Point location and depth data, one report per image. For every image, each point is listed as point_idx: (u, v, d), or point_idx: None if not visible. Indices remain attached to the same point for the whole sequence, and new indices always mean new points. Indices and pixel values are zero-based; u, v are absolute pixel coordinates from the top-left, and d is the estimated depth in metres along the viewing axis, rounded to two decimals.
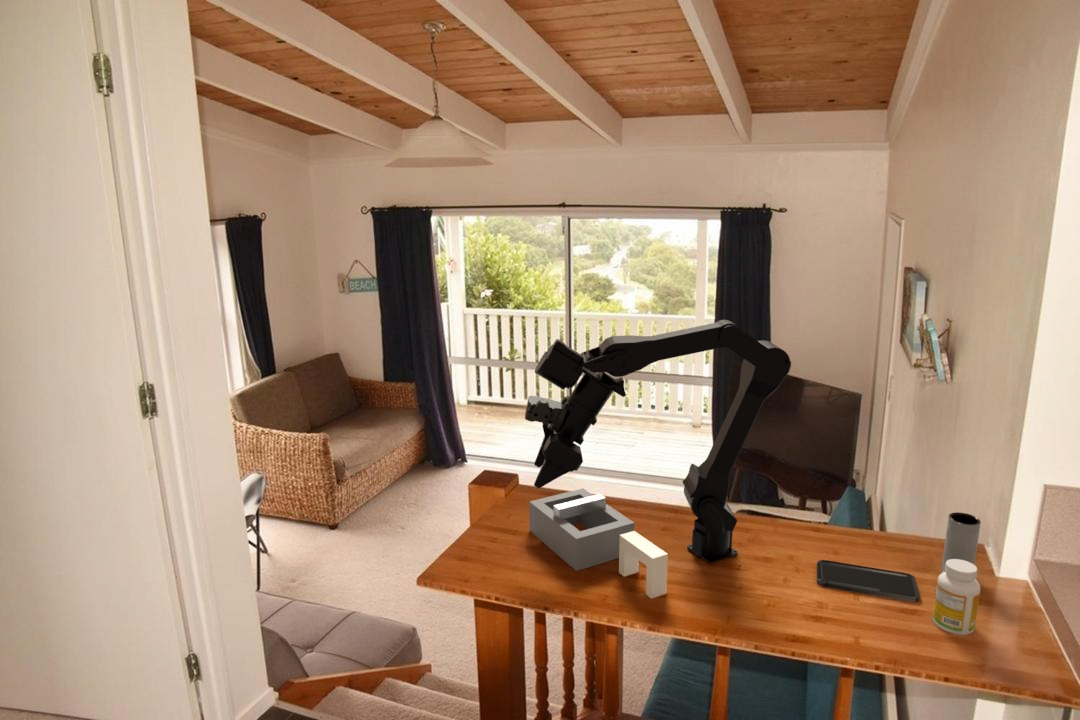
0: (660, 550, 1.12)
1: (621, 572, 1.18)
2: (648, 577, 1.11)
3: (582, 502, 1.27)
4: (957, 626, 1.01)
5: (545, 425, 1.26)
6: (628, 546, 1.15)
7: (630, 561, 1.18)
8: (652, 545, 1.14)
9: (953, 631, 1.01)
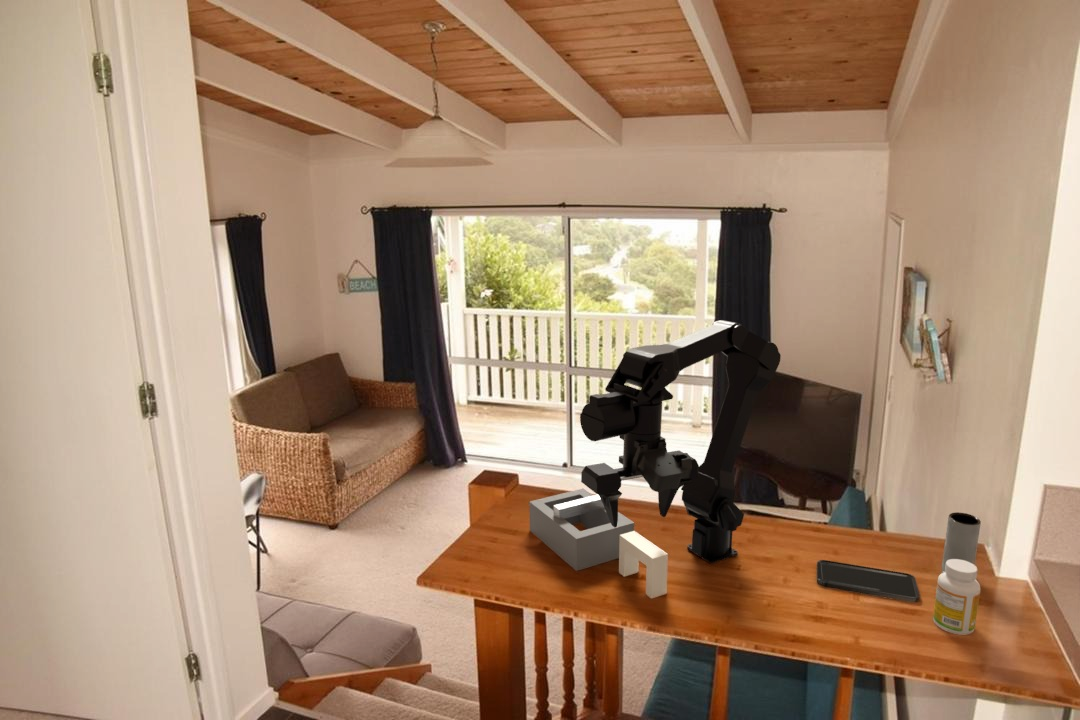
0: (660, 550, 1.12)
1: (621, 572, 1.18)
2: (648, 577, 1.11)
3: (582, 502, 1.27)
4: (957, 626, 1.01)
5: (615, 492, 1.07)
6: (628, 546, 1.15)
7: (630, 561, 1.18)
8: (652, 545, 1.14)
9: (953, 631, 1.01)
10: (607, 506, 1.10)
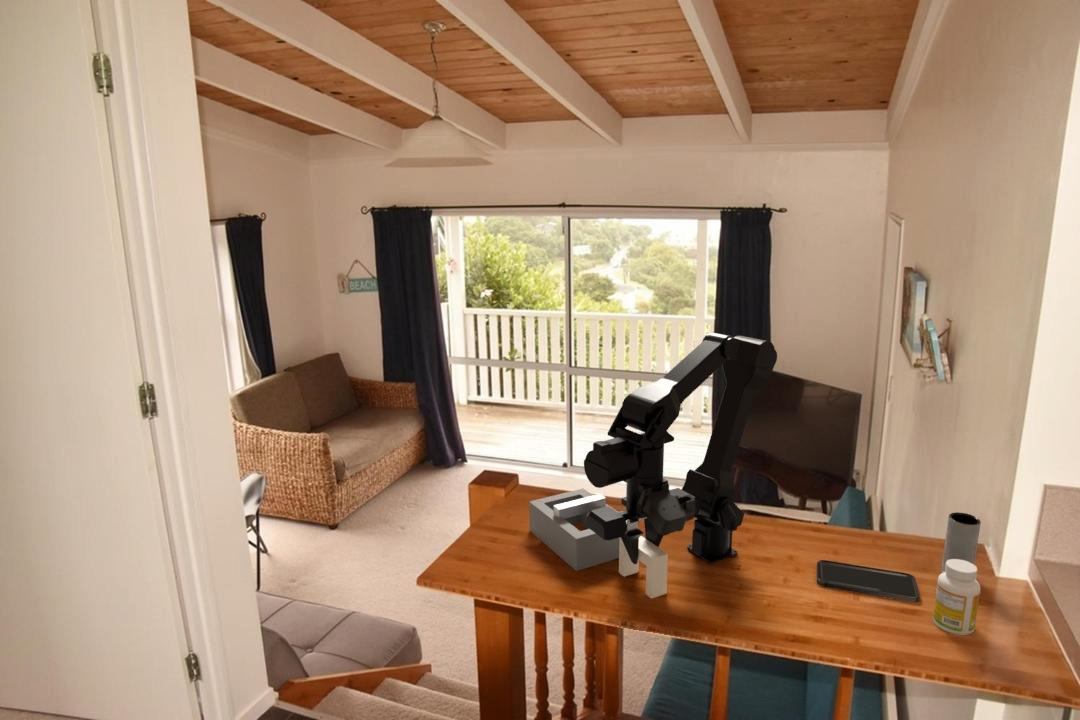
0: (660, 550, 1.12)
1: (621, 572, 1.18)
2: (648, 577, 1.11)
3: (582, 502, 1.27)
4: (957, 626, 1.01)
5: (637, 532, 1.10)
6: None
7: (629, 561, 1.18)
8: (652, 545, 1.14)
9: (953, 631, 1.01)
10: (627, 544, 1.13)
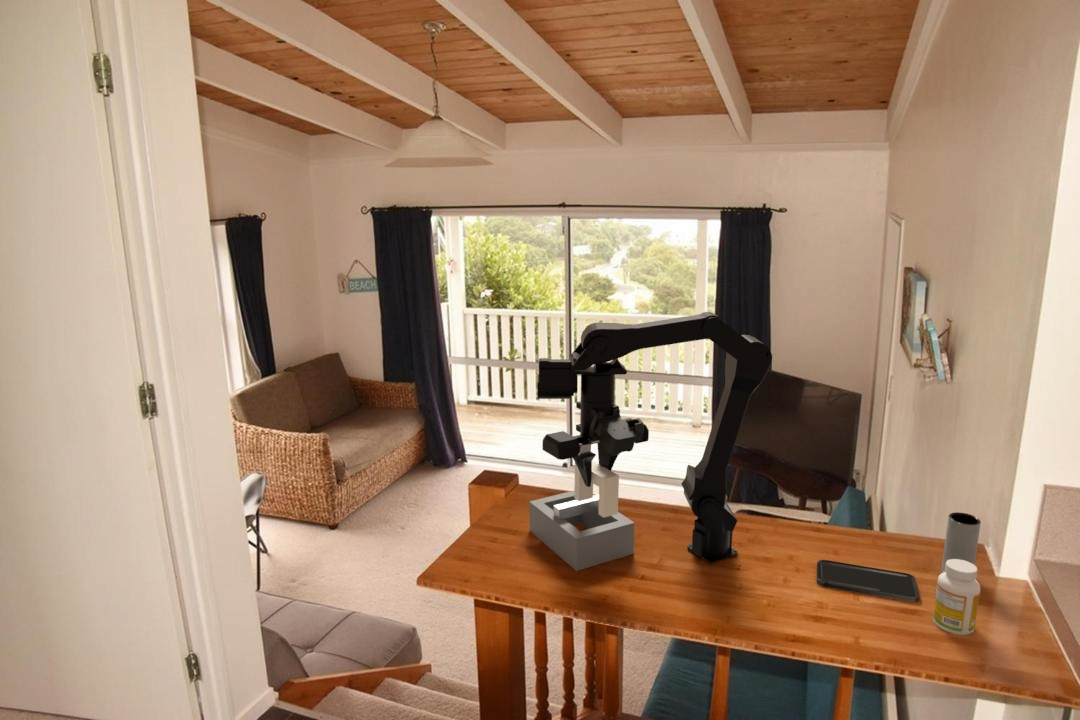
0: (612, 473, 1.20)
1: (576, 497, 1.25)
2: (601, 497, 1.19)
3: (582, 502, 1.27)
4: (957, 626, 1.01)
5: (589, 454, 1.17)
6: None
7: (584, 486, 1.25)
8: (605, 469, 1.21)
9: (953, 631, 1.01)
10: (581, 468, 1.20)
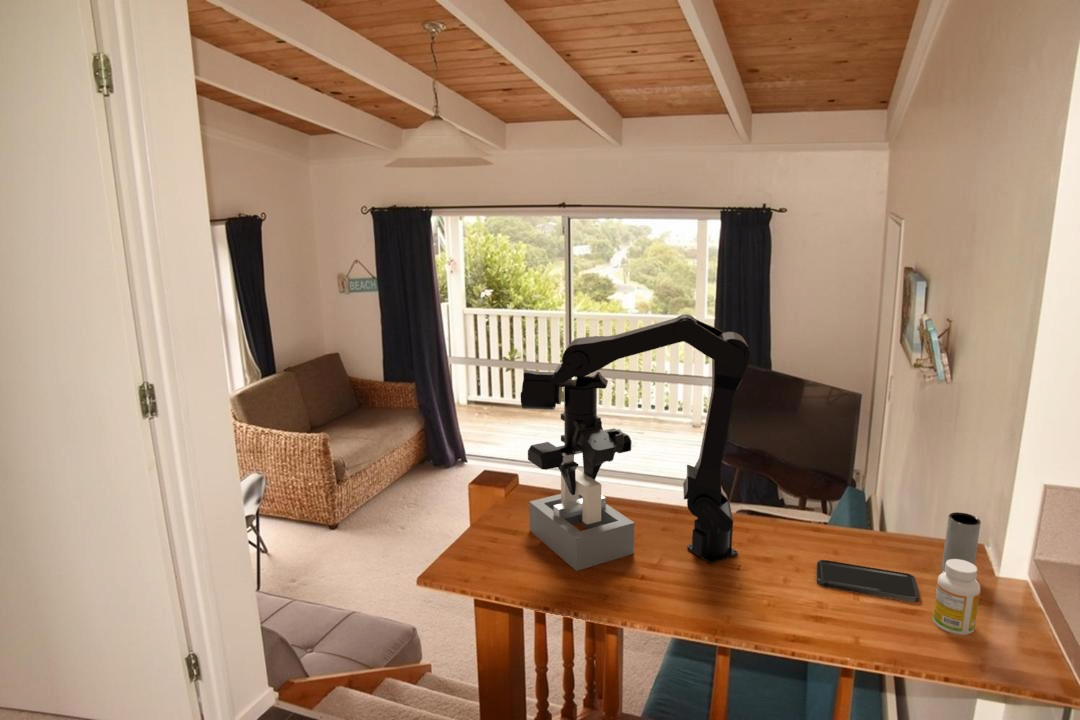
0: (595, 481, 1.24)
1: None
2: (584, 505, 1.24)
3: None
4: (957, 626, 1.01)
5: (572, 464, 1.22)
6: None
7: (570, 494, 1.30)
8: (588, 478, 1.26)
9: (953, 631, 1.01)
10: (566, 477, 1.25)
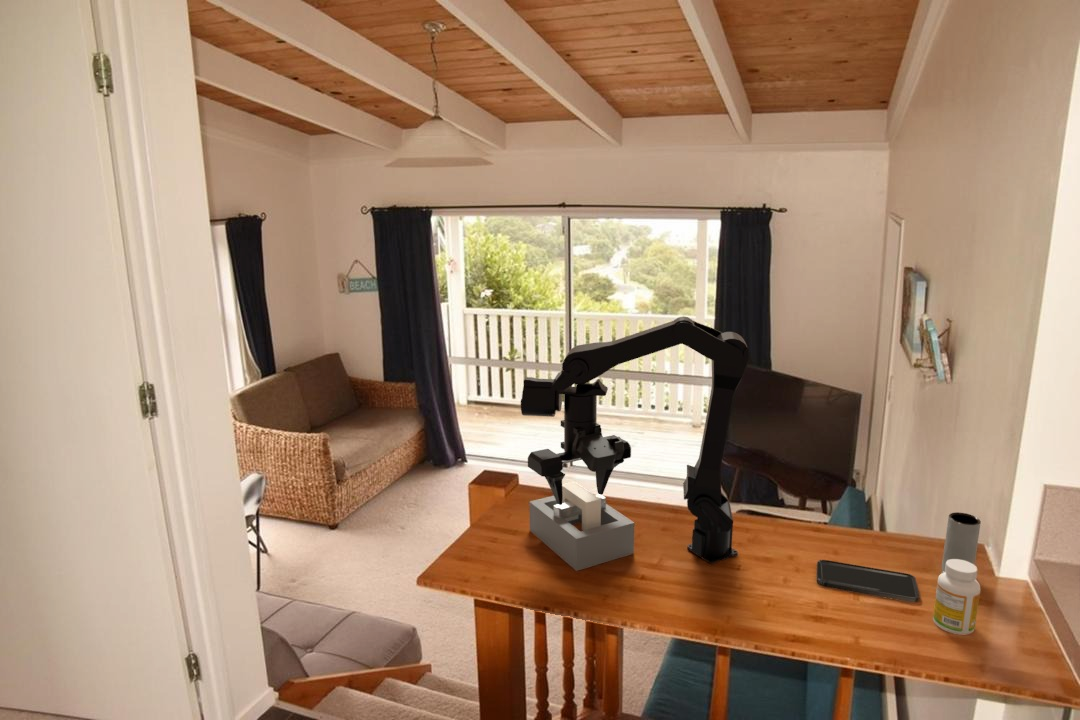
0: (594, 496, 1.25)
1: None
2: (583, 519, 1.24)
3: None
4: (957, 626, 1.01)
5: (559, 474, 1.21)
6: (567, 494, 1.28)
7: None
8: (588, 492, 1.27)
9: (953, 631, 1.01)
10: (553, 486, 1.24)
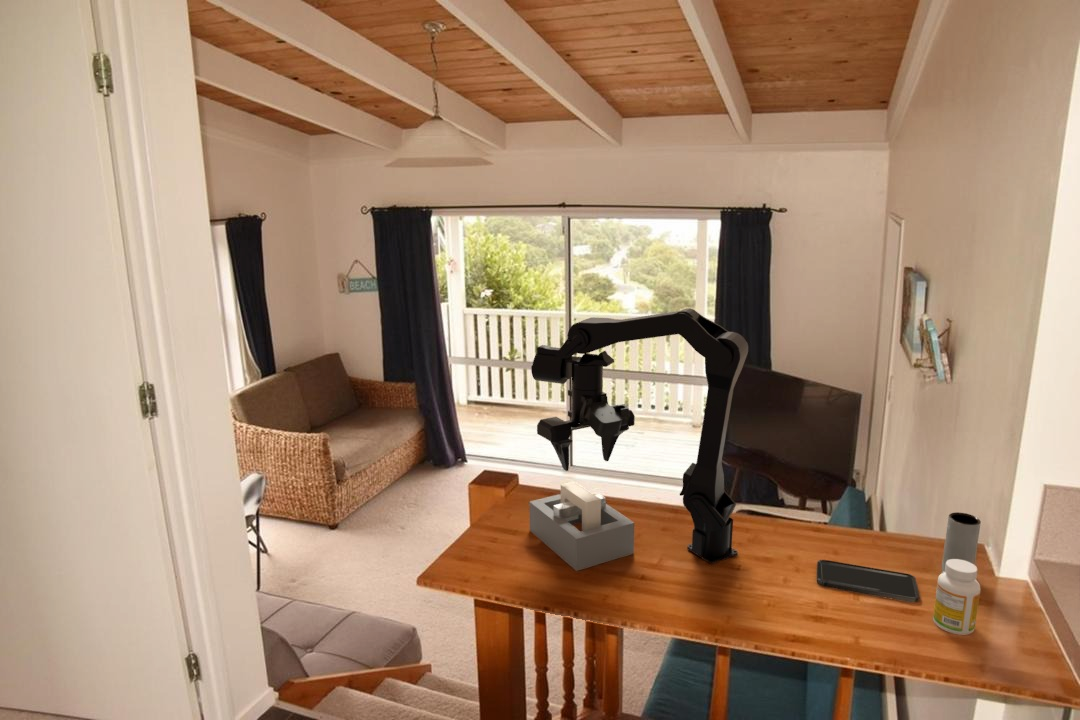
0: (594, 496, 1.25)
1: None
2: (583, 519, 1.24)
3: None
4: (957, 626, 1.01)
5: (566, 440, 1.27)
6: (567, 494, 1.28)
7: None
8: (588, 492, 1.27)
9: (953, 631, 1.01)
10: (559, 453, 1.30)
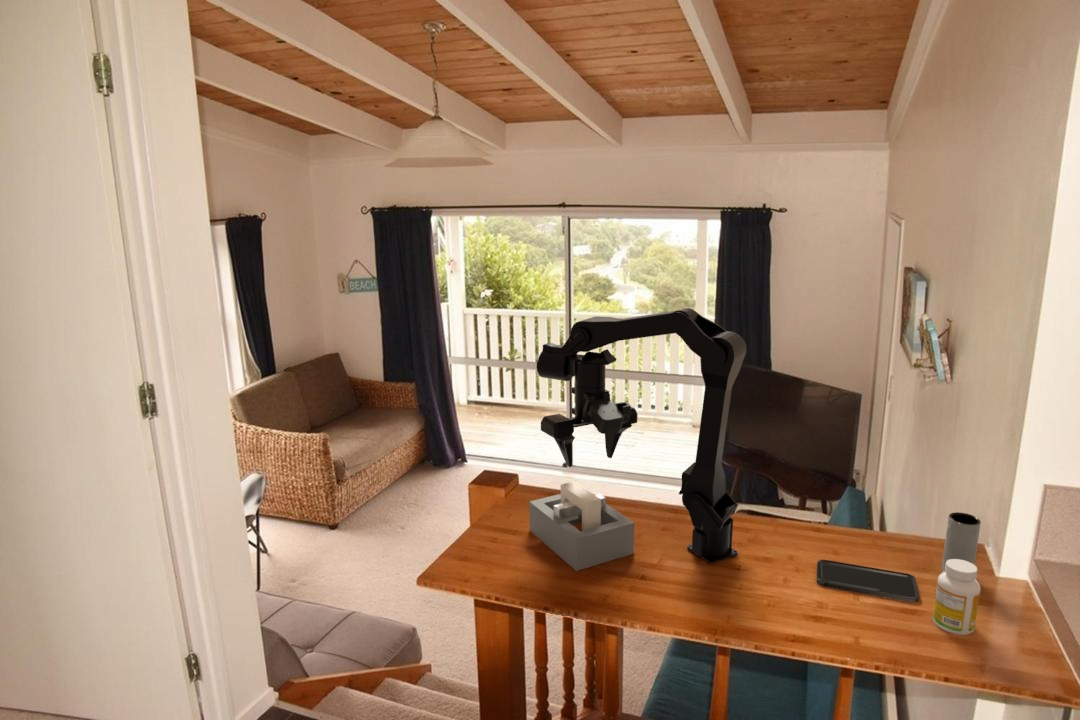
0: (594, 496, 1.25)
1: None
2: (583, 519, 1.24)
3: None
4: (957, 626, 1.01)
5: (569, 436, 1.29)
6: (567, 494, 1.28)
7: None
8: (588, 492, 1.27)
9: (953, 631, 1.01)
10: (563, 449, 1.32)
